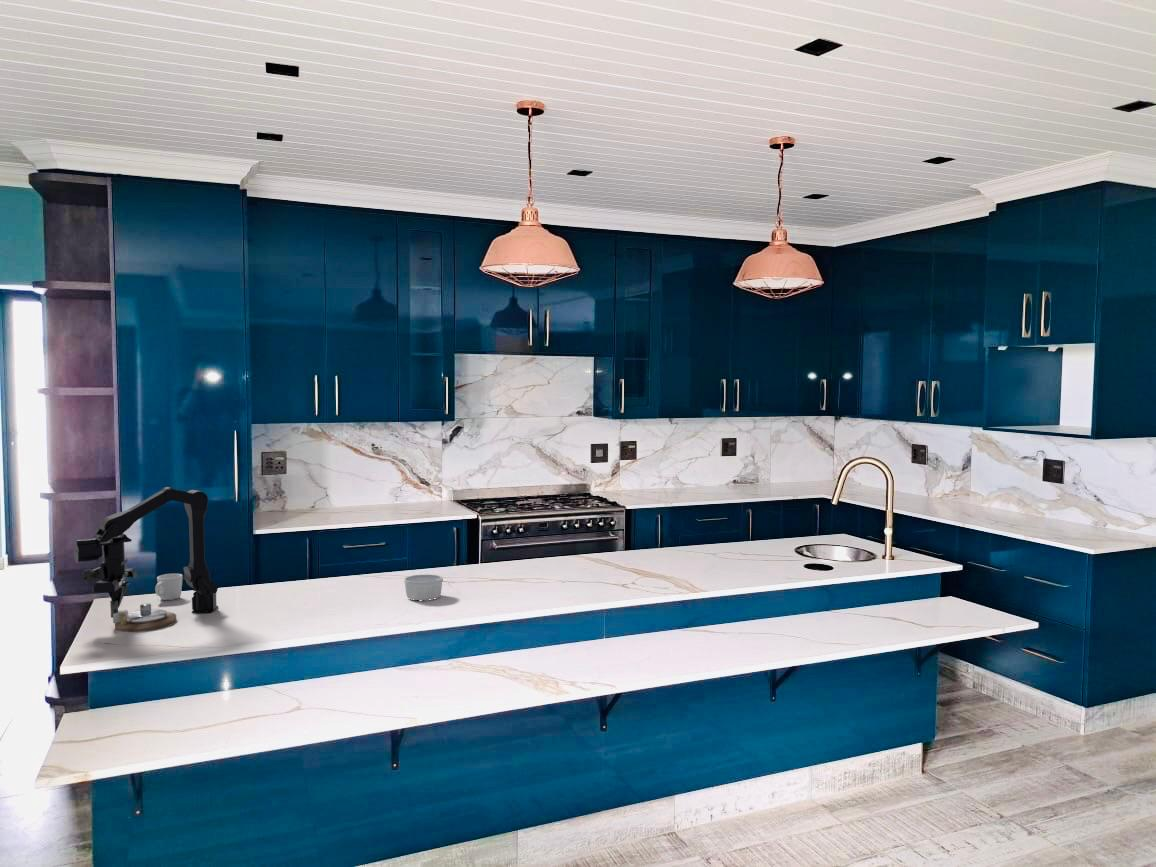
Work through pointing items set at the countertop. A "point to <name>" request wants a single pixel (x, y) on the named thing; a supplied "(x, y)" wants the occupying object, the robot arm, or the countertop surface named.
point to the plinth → (145, 624)
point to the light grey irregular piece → (137, 614)
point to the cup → (169, 586)
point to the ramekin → (423, 586)
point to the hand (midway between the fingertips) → (116, 607)
